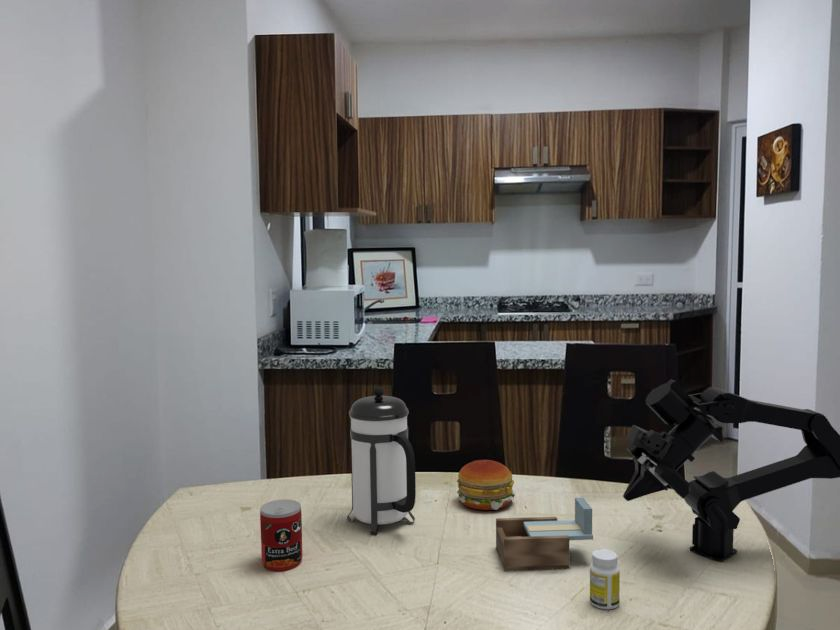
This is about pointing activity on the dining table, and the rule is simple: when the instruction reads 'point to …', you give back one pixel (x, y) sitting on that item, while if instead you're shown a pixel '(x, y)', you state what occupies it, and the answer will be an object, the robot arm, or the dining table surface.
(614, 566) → the supplement bottle
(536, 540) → the pencil box
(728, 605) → the dining table surface
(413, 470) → the coffee press
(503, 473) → the burger
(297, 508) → the canned food
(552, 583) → the dining table surface
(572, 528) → the lid
